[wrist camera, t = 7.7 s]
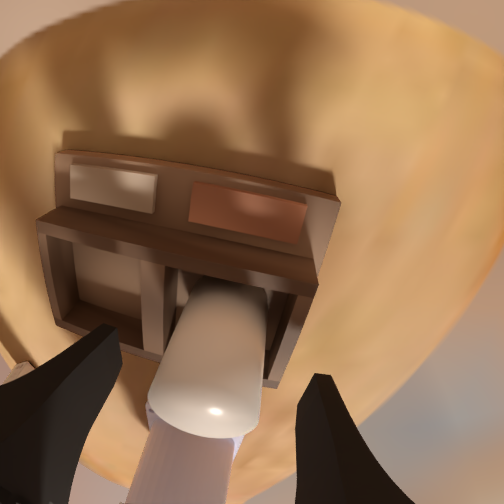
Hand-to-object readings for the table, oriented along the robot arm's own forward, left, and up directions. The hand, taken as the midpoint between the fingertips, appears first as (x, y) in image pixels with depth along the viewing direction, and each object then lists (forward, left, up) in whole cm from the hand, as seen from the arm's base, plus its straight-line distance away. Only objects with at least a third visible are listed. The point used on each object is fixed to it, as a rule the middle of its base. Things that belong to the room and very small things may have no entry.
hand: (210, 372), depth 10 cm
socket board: (+1, +3, -5) cm, 6 cm away
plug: (0, 0, -4) cm, 4 cm away
